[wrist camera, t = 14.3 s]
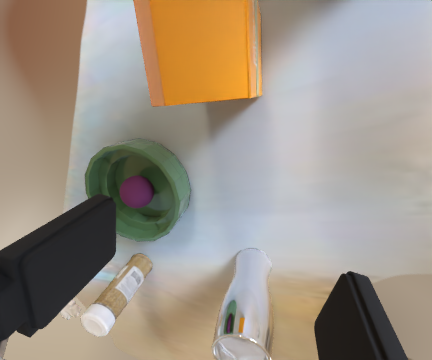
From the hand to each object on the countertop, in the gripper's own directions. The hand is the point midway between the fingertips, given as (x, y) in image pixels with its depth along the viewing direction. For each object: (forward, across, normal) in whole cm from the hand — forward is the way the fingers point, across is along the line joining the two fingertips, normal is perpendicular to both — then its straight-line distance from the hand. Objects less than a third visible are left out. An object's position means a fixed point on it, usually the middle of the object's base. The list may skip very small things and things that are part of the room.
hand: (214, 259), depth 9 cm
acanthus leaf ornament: (+24, +34, +49) cm, 65 cm away
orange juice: (+24, +6, -9) cm, 26 cm away
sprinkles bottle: (+24, +16, +28) cm, 40 cm away
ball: (+23, +16, +11) cm, 30 cm away
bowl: (+24, +16, +11) cm, 31 cm away
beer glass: (+24, -4, +20) cm, 32 cm away
